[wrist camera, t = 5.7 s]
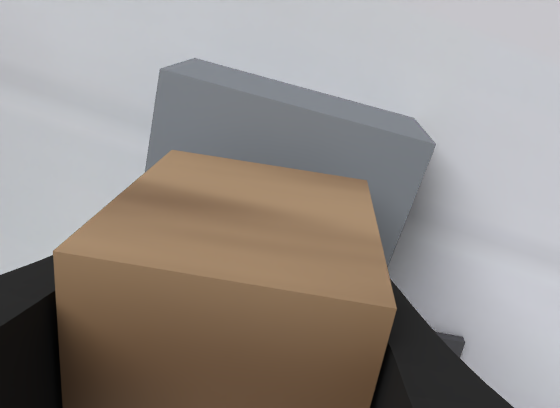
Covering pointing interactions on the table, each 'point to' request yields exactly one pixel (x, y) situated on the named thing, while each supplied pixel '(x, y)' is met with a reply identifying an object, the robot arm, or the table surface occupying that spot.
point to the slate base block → (292, 133)
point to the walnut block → (225, 291)
